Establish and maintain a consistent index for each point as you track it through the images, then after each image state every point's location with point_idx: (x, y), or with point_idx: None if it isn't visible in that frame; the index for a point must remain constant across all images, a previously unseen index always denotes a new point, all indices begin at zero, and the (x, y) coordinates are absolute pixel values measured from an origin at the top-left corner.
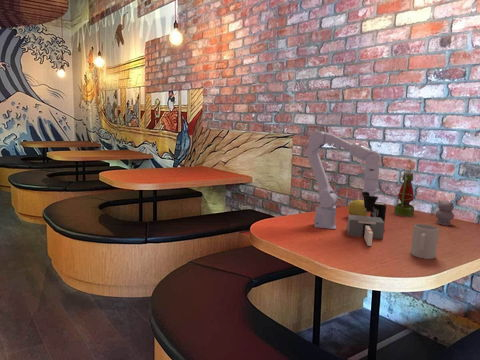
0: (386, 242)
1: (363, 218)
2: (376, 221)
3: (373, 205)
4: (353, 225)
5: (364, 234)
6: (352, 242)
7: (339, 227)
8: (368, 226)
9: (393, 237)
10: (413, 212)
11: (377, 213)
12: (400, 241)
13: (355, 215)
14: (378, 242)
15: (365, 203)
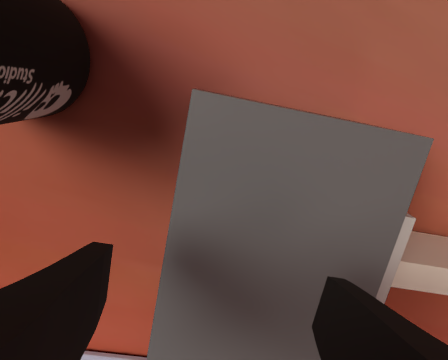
0: (427, 123)
1: (274, 291)
2: (379, 202)
3: (421, 336)
4: None
5: None
6: (427, 320)
7: (109, 327)
8: (419, 271)
9: (302, 14)
10: None
11: (21, 76)
12: (402, 2)
13: (159, 332)
14: (427, 177)
15: (81, 346)
